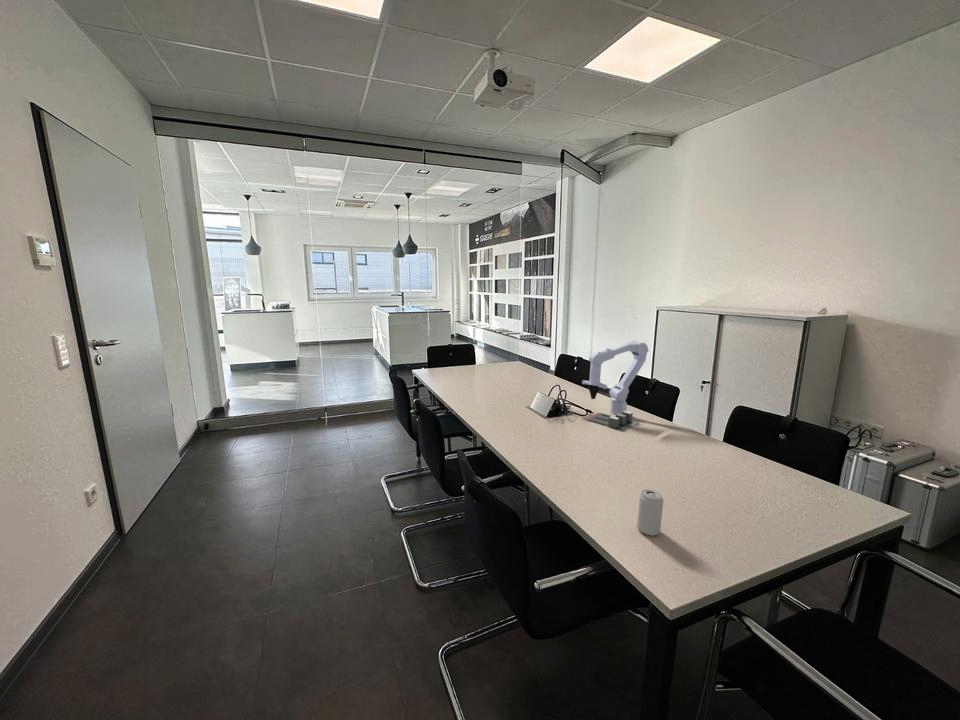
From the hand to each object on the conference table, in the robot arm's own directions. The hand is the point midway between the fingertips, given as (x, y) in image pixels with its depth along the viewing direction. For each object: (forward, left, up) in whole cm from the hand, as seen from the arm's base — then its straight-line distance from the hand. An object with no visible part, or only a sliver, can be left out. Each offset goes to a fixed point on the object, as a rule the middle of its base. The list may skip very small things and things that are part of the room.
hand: (593, 398), depth 222 cm
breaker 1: (+11, +19, -9) cm, 24 cm away
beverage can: (+83, +70, -11) cm, 109 cm away
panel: (+4, +13, -10) cm, 17 cm away
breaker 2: (-3, +19, -9) cm, 21 cm away
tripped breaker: (+4, +19, -9) cm, 22 cm away
